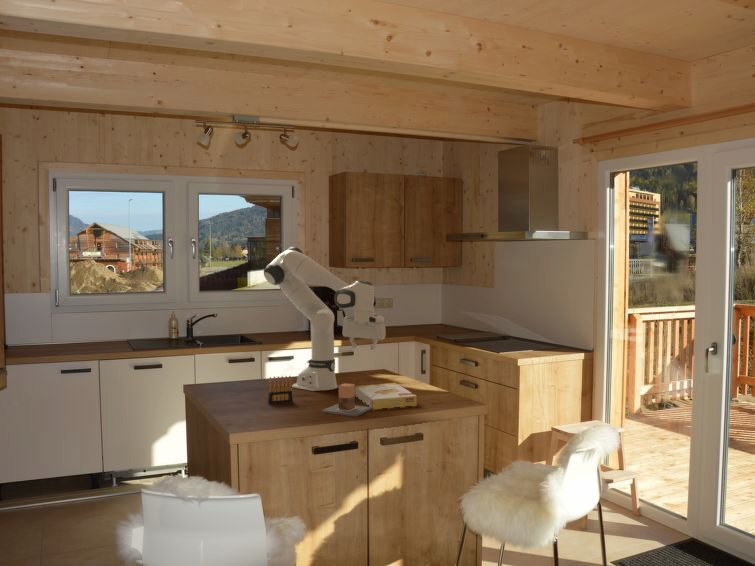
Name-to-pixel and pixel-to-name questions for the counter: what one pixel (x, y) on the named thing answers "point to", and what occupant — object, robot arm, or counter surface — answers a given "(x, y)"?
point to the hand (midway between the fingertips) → (363, 348)
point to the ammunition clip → (280, 391)
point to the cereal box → (385, 396)
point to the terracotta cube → (346, 390)
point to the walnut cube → (346, 403)
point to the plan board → (353, 412)
